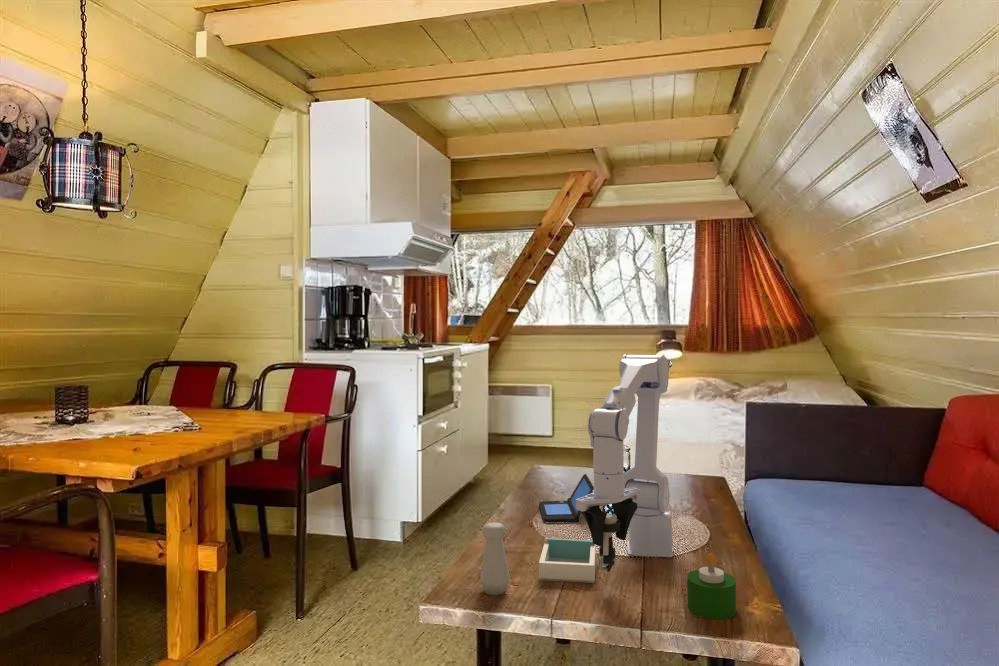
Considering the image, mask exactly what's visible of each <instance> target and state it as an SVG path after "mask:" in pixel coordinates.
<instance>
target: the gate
mask: <svg viewBox="0 0 999 666" xmlns="http://www.w3.org/2000/svg"><path fill="white" fill-rule="evenodd" d="M543 540H544V543H549V558H568V559H588V560H590V547H591V545H593V546H595V547H596V544H593V540H592V539H591V540H590V539H576V538H575V539H574V538H573V539H572V538H571V539H570V538H557V537H556V538H555V537H544V539H543Z"/></svg>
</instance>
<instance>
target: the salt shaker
mask: <svg viewBox="0 0 999 666" xmlns="http://www.w3.org/2000/svg"><path fill="white" fill-rule="evenodd" d="M482 535H483V538H485V543H484V550H483V558H482V562H481V569H480V576H479V582H480V584H481V586H482V588H483V589H484V592H485V594H487V595H491V596H497V595H503V594H505V591H506V590H507V587H508V585H509V583H510V579H511V578H510V572H509V566H508V562H507V561H508V560H507V557H506V556H507V555H506V552H505V551H506V550H505V546H504V541H503V538H504V537H505V535H506V527H505V525H504V524H503V523H500V522H487V523H486V524H484V525H483V529H482Z"/></svg>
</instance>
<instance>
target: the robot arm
mask: <svg viewBox="0 0 999 666" xmlns="http://www.w3.org/2000/svg"><path fill="white" fill-rule="evenodd" d="M618 366H619V367H618V368H619V369H618V370H619V371H618V373H619V376H620V377H619V378H620V380H619V383H618V384H617V385H618V386H617V385H616V386H614V387H612V388H611V389H610V390H609V391H608V393H607V394H606V397H604V400H603V402H602V403H601V405H600V407H599V408H595V409H594V410H592V411H591V412H590V413H589V417H588V420H587V422H588V423H587V431H588V435H589V439H590V441H589V442H590V447H591V448H593V449H592V450H593V451H592V452H593V454H592V455H593V456H592V457H593V461H592V462H593V486H594V490H593V493H591V494H589V495H586V496H584V497H581V498H578V499H576V509H577V510H579V511H581V512H582V513H581V515H582V516H583V517H584V519H585V521H586V523H587V525H588V529H589V532H590V536H591V540H593V544H595V546H597V547H600V546H602V545H603V531H604V523H605V519H606V516H607V513H608V512H606V511H603V510H602V508H601V507H602V506H608V505H611V506H612V511H613V514H615V515H616V516H617V519H620V520H621V525H620V530H619V531H617V532H616V533H615V537H616V538H617V539H619V540H621V541H625V540H626V539H627V535H628V541H626V547H627V548H626V549H627V555H628V556H635V557H636V556H637V557H657V558H673V544H674V543H673V541H674V539H673V528H672V525H673V524H672V514H671V512H670V511H667V510H668V508H669V504H670V497H671V495H670V494H671V493H670V487H669V478H668V476H667V475H666V474H665V473H664V472H663V471H661V469H659V468H658V467H657V458H658V439H659V437H658V435H659V434H658V433H659V413H660V412H659V411H660V399H661V395H662V394H665V393H667V392H668V388H669V375H670V373H669V372H670V367H669V366H670V365H669V360H668V358H667V357H666V356H665V354H659V355H658V354H655V355H653V354H627V353H625V354H623V355H622V357H621V358H620V360H619V364H618ZM636 397H637V400H636ZM636 401H637V411H636V412H637V415H636V431H635V432H636V434H635V449H634V452H635V455H634V466H633V467H632V468H630V469H628V470H627V471H626V472H625V471H624V461H625V460H624V459H625V458H624V455H625V453H624V440H625V439H626V438H627V434H628V429H629V425H630V415H631V413H632V412H633V409H634V408H635V405H636ZM642 480H644V481H642ZM650 481H651V482H650ZM652 481H653V482H652Z"/></svg>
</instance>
